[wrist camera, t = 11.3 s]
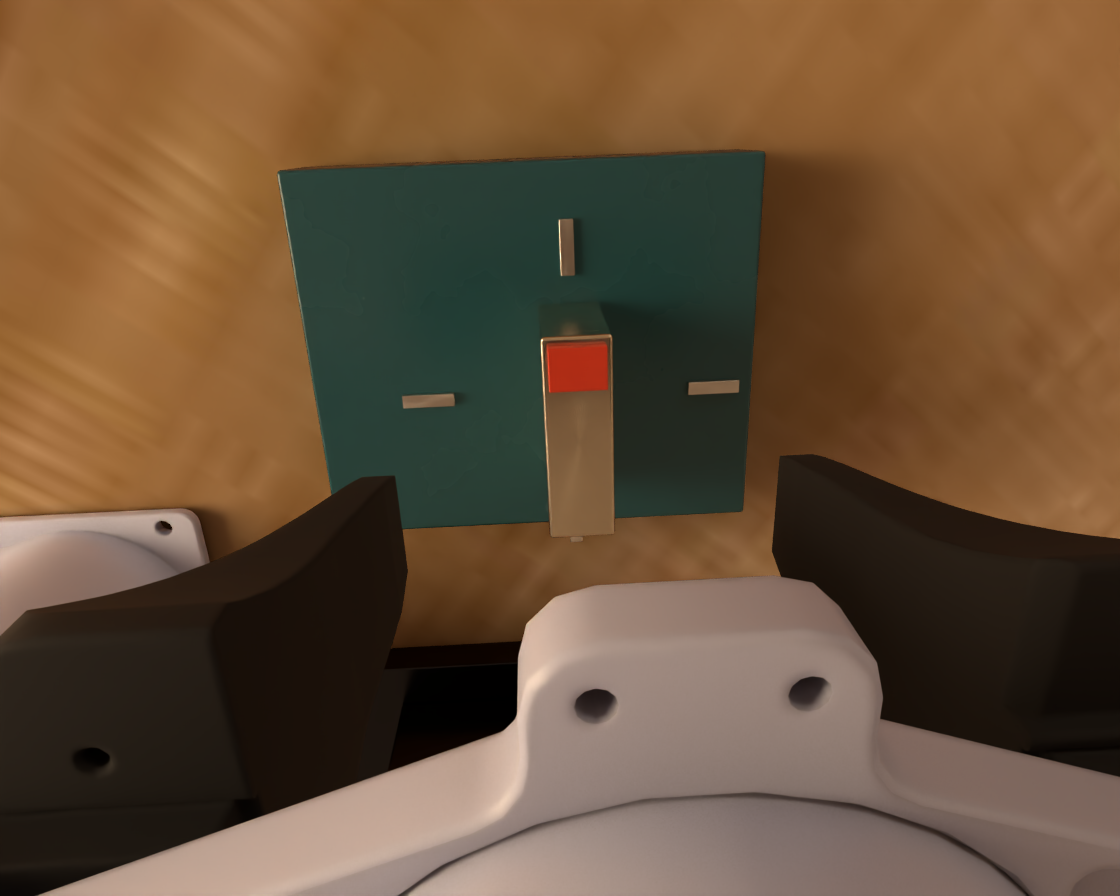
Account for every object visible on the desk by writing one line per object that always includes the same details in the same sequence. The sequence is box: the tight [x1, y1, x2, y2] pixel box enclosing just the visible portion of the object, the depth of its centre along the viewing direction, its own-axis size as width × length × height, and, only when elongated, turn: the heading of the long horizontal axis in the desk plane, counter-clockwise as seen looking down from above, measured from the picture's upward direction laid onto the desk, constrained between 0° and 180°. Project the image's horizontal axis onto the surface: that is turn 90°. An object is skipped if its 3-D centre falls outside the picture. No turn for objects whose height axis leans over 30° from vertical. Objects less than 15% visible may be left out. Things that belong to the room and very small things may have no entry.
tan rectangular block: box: [538, 302, 615, 538], centre depth 19 cm, size 5×2×4 cm, turn 2°
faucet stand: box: [356, 641, 522, 783], centre depth 24 cm, size 10×8×9 cm
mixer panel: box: [277, 149, 766, 542], centre depth 21 cm, size 12×11×3 cm
